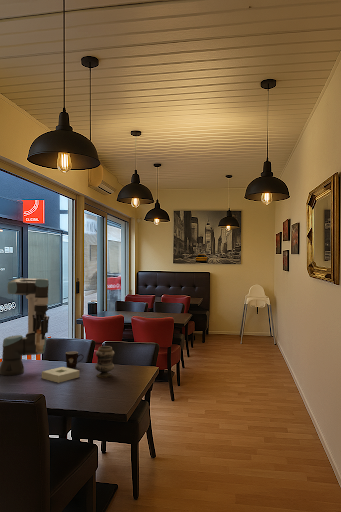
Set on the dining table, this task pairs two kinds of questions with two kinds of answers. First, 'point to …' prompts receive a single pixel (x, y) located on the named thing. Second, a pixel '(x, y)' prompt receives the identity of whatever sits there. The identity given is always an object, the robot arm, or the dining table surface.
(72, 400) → the dining table surface
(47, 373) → the socket block
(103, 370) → the apothecary jar
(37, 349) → the peg
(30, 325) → the robot arm
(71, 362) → the coffee mug
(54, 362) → the dining table surface
